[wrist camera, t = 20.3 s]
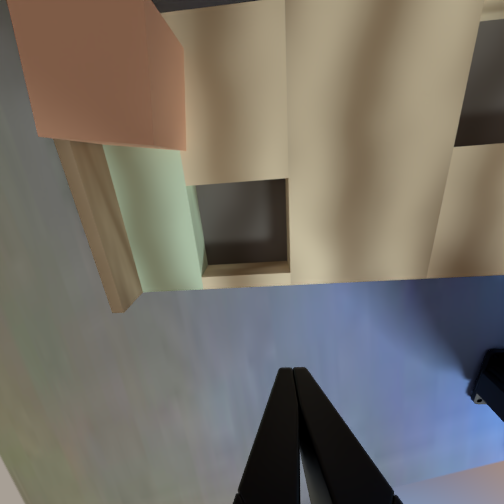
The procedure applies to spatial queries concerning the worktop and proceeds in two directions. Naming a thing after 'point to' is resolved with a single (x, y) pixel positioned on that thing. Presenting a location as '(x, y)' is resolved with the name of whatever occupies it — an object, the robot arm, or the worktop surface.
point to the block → (102, 71)
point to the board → (311, 152)
